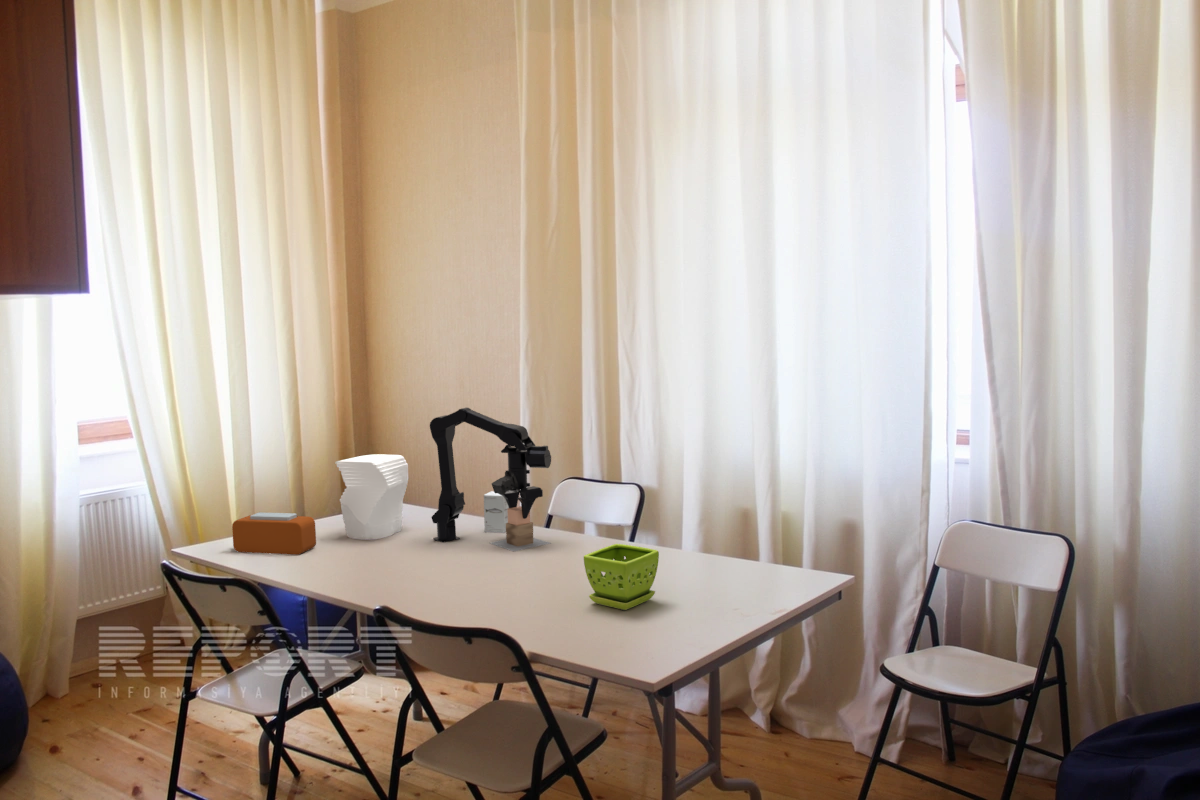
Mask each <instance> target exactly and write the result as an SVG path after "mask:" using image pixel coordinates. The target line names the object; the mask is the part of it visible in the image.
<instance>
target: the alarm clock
mask: <svg viewBox="0 0 1200 800" xmlns="http://www.w3.org/2000/svg"><path fill="white" fill-rule="evenodd" d="M297 515H298V514H297V513H294V512H293V513H290V512H287V513H286V512H260V511H259V512H257V513H254V514H250V515H247V516H244V517H242V518H239V519H237V520H234V521H233V523H232V526H231V531H232V545H233V549H234V551H236V552H237V551H238V553H247V552H252V553H253V554H269V553H271V554H272V555H291V556H292V555H294V556H295V555H296V556H298V555H301V554H303V553H306V552H308V551H310V550H312V549H313V548H315V547H316V546H317V532H316V522H315V519H314V518H313V517H312V516H306V515H305V516H304V515H303V516H301V515H298V516H297ZM252 553H251V554H252Z"/></svg>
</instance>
